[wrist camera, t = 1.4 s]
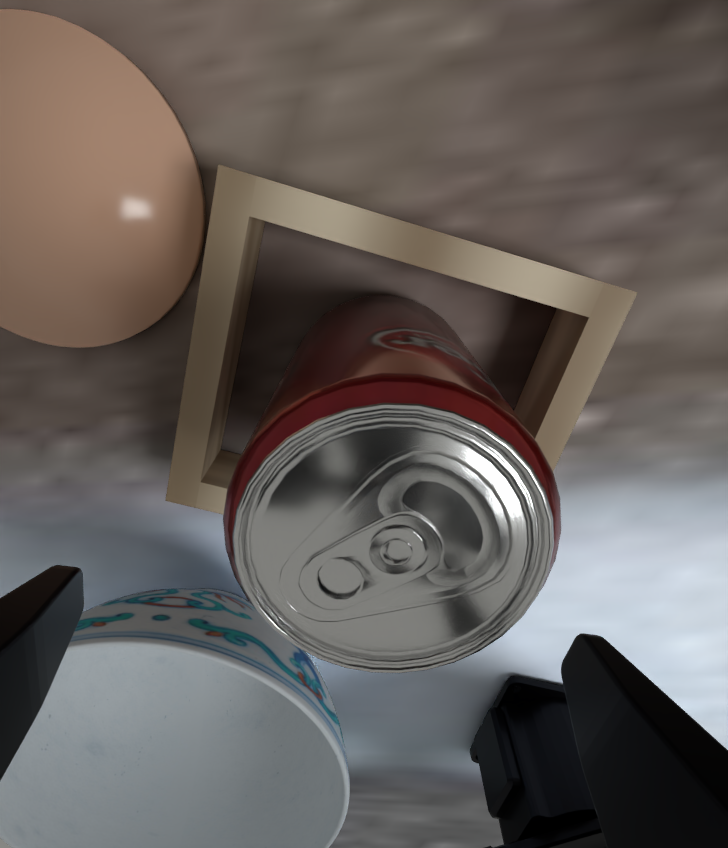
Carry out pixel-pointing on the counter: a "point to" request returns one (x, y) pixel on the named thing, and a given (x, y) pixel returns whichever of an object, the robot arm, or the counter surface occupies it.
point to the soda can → (390, 496)
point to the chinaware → (179, 735)
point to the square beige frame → (323, 217)
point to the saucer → (89, 189)
